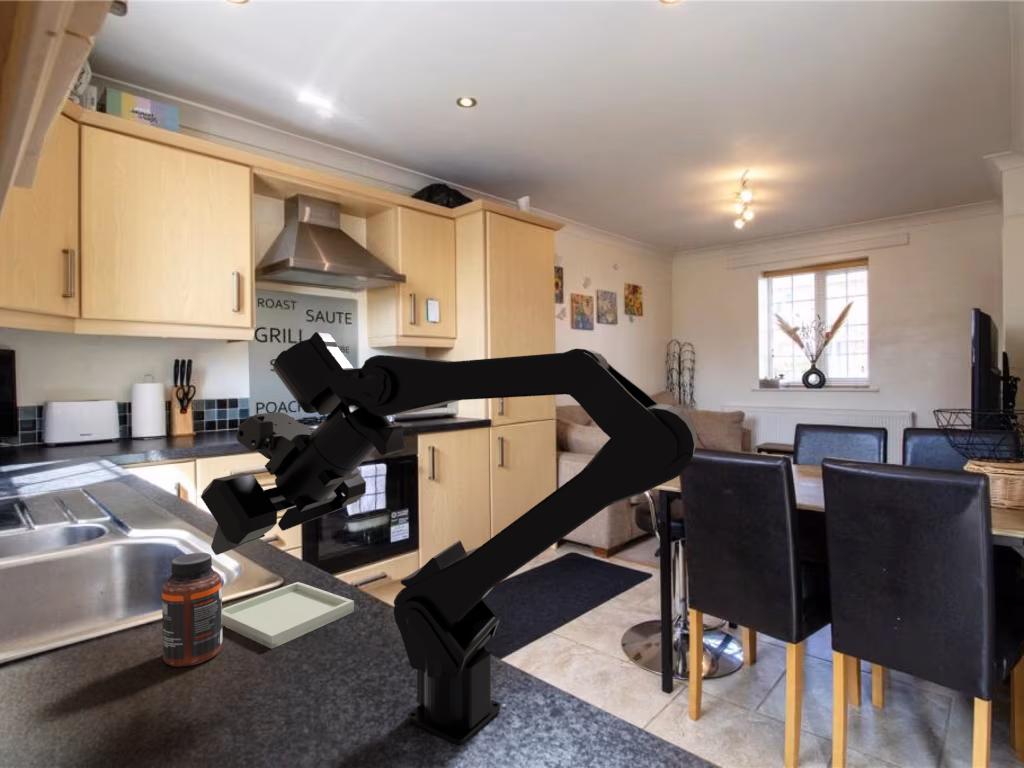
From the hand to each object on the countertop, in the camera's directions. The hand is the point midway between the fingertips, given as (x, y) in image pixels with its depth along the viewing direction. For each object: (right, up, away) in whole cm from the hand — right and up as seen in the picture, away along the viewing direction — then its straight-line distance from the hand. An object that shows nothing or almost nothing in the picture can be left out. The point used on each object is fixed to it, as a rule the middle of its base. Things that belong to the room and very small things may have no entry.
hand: (250, 538), depth 61 cm
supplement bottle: (-8, -14, +3) cm, 17 cm away
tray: (-1, -14, +13) cm, 19 cm away
